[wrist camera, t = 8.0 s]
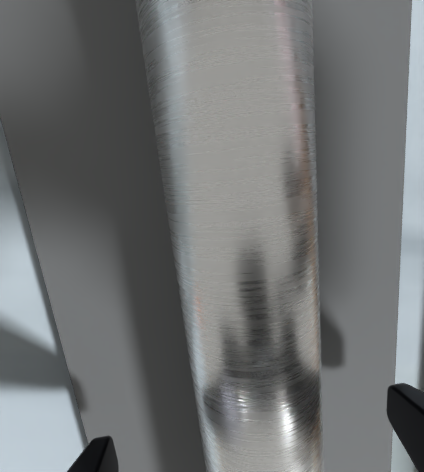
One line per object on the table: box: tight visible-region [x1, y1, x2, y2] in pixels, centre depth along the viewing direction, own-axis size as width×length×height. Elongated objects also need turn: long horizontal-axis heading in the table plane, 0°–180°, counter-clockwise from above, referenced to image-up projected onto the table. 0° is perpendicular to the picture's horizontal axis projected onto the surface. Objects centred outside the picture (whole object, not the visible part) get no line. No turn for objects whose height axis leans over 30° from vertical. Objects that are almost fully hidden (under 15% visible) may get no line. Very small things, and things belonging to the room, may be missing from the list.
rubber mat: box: [0, 0, 412, 472], centre depth 9 cm, size 9×24×1 cm, turn 7°
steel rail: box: [135, 0, 324, 472], centre depth 7 cm, size 28×3×3 cm, turn 6°
